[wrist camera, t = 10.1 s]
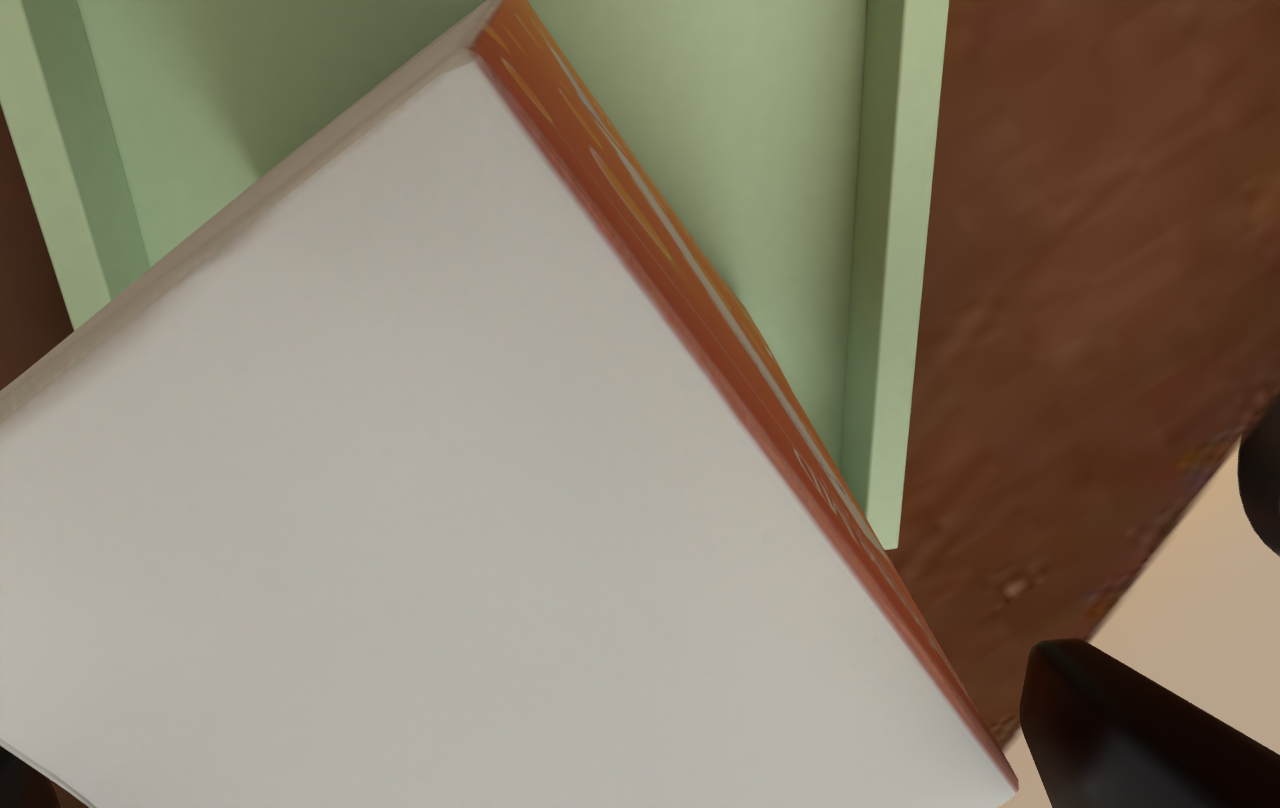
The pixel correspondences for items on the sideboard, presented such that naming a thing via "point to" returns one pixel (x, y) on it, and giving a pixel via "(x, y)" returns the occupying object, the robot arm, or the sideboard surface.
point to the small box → (454, 499)
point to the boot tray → (626, 91)
